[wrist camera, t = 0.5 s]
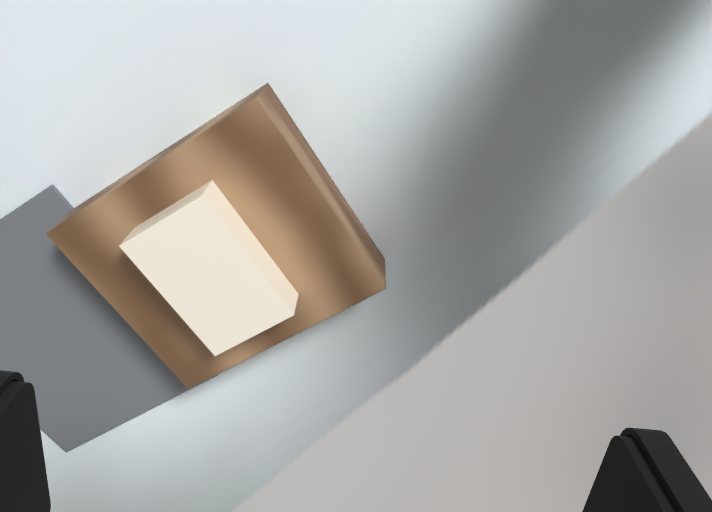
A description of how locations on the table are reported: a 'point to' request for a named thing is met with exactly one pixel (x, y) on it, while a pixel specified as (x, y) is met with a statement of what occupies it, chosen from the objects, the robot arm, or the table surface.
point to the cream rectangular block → (211, 269)
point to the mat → (70, 334)
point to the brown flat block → (258, 211)
